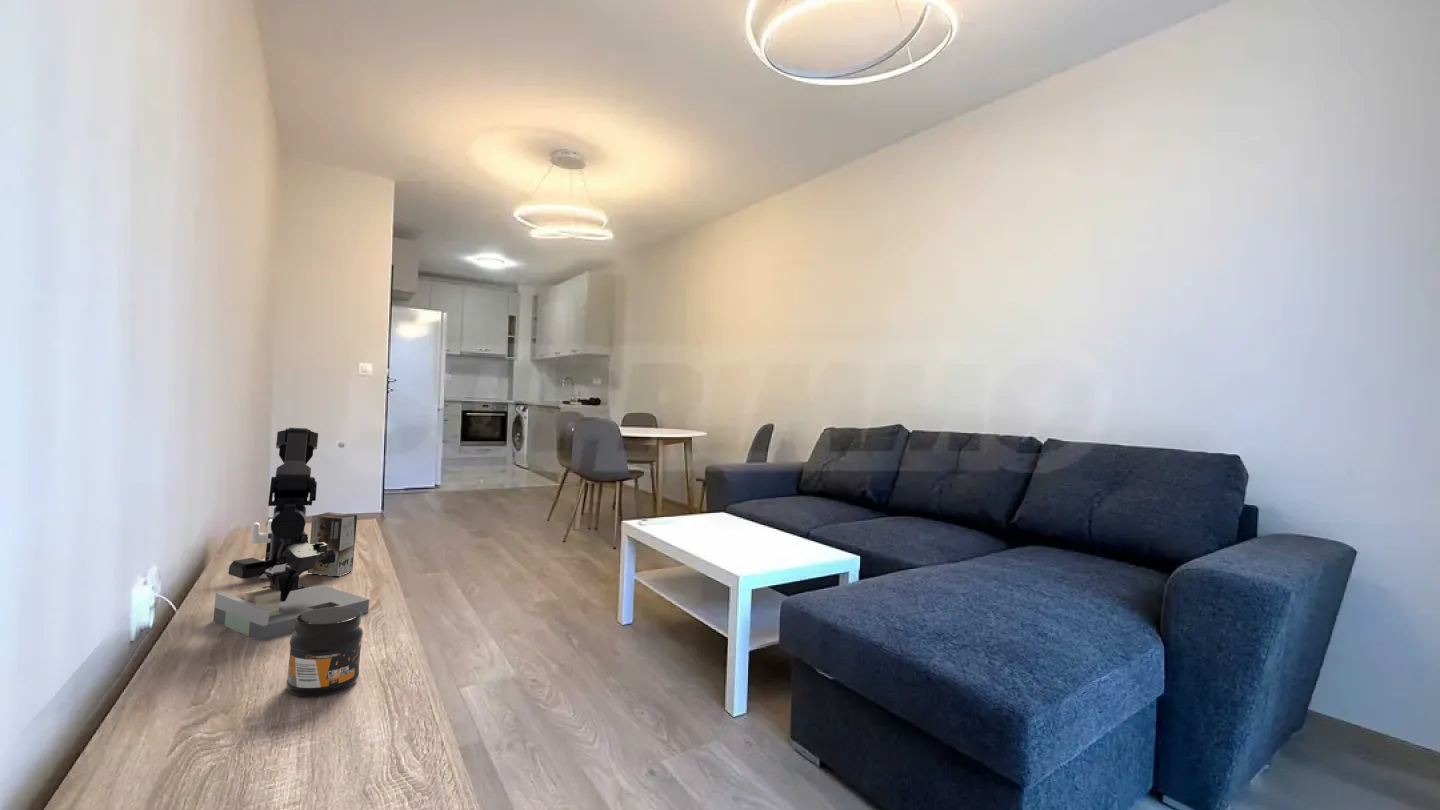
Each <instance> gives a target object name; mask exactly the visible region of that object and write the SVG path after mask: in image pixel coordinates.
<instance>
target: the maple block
mask: <svg viewBox="0 0 1440 810" xmlns="http://www.w3.org/2000/svg"><path fill="white" fill-rule="evenodd" d="M280 595H281V592H280V591H277V590H274V589H271V588H264V589H263V588H261V589H255V590H250V591H246V592H244V597H243V598H244V599H243V600H245V601H248V602H250V603H253V604H256V605H258V606H261V607H264V608H267V609H269V613H271V612H275V611H279V606H280Z"/></svg>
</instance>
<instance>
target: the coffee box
mask: <svg viewBox="0 0 1440 810" xmlns="http://www.w3.org/2000/svg"><path fill="white" fill-rule="evenodd" d="M357 523H358V514H352V513H351V514H349V513H341V512H339V513H338V512H330V511H329V512H323V513H319V514H315V515H312V516H311V523H310V524H311V525H310V538H309V544H316V543H321V542H325V543H326V544H327V548H329V549H333V550H334V551H335V552H336V562H333V563H328V564H321V563H320V562H319V560H318V561H317V564H316V567H314V568H309V570H308V571H307V573H312V574H321V575H320V576H322V575H329V576H328V577H332V576H339V577H341V576H340V575H342V576H344V575H343V574H345V573H348V572H350V571H352V572H353V569H354V560H355V559H354V558H355V557H354V556H355V545H356V536H357ZM312 574H311V575H312ZM348 574H349V573H348ZM345 575H346V574H345Z"/></svg>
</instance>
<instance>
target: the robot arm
mask: <svg viewBox="0 0 1440 810" xmlns="http://www.w3.org/2000/svg"><path fill="white" fill-rule="evenodd" d="M276 434H277V435H276V441H275V442H276V444H275V449H279V452H278V456H279V458H280V459H281V461H282V463H283V464H281V465H279V466H277V467H276V472H275V476H271V479H270V487H269V495H268V496H269V497H268V503H267V504H268V505H267V506H268V507H274V508H273V516H272V518H271V519H272V522H271V530H272V533H269V534H268V538H269V539H271V542H267V543H266V548H265V557H266V558H264V559H265V560H264V561H262V560H263V559H259V558H254V557H247V558H242V559H236V560H233V561H232V562H231V563H230V564H229V566H228V575H230V576H233V577H235V578H239V579H244V580H245V579H246V580H247V579H252V578H257V577H259V576H261V575H262V574H266V575H267V577H268V578H267V579H268V580H269V585H266V586H263V587H262V589H264V588H271V589H274V590H277V591H280V592H281V595H280V601H281V602H284V601H286V599H287V597H288V595H289V593H290V591H294V590H299V589H304V588H305V586H304V585H303V584H300V582H299V581H300V576H301V575H302V574H303V573H304V572H308V570H309V568H314V567H316V564H317V561H318V560H319V562H320V563H321V564H328V563H333V562H336V552H335V551H334V550H333V549H329V548H327V544H326V543H325V542H321V543H316V544H310V542H309V535H308V534H307V533H306V532H305V527H306V517H307V516H306V514H307V513H306V512H307V507H306V506H312V505H313V502H315V501H316V500H317V498H316V497H317V488H318V482H317V480H316V477H314V476H312V475H311V473H312V471H311V470H312V468H311V467H310V466H309V465H308V462H309V461H310V460H311V458H313V456H314V450H315V451H316V450H317V449H318V440H319V433H318V432H314V431H311V429H308V428H305V427H304V428H303V427H288V428H285V429H284V430H279V431H277V433H276ZM273 498H274V500H273ZM308 498H309V499H308ZM269 559H270V560H269Z"/></svg>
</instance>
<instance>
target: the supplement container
mask: <svg viewBox="0 0 1440 810" xmlns="http://www.w3.org/2000/svg"><path fill="white" fill-rule="evenodd" d="M361 621H362V614H361V612H360V611H359V610H358V609H355V608H351V607H326V608H319V609H314V610H311V611H307V612H305V613H303V614H301V615H299V616H298V617H297V618H296V622H295V631H296V632H294V634H292V636H291V637H290V640H289V645H290V647H289V648H290V649H289V661H288V670H287V677H286V678H287V679H286V688H287V690H288V692H290V693H291V694H293V695H296V696H298V697H299V696H300V697H305V698H306V697H309V698H313V697H314V698H315V697H322V696H329V695H331V694H336V693H338V692H342V691H344V690H345V689H348V688H349V687H350V686H352V685H353V684H355V682H356V681H357V680H358V678H359V676H360V661H361V649H362V640H363V639H362V638H363V635H364V631H363V628H362V627H361V626H360V625H361V623H362V622H361Z"/></svg>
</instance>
